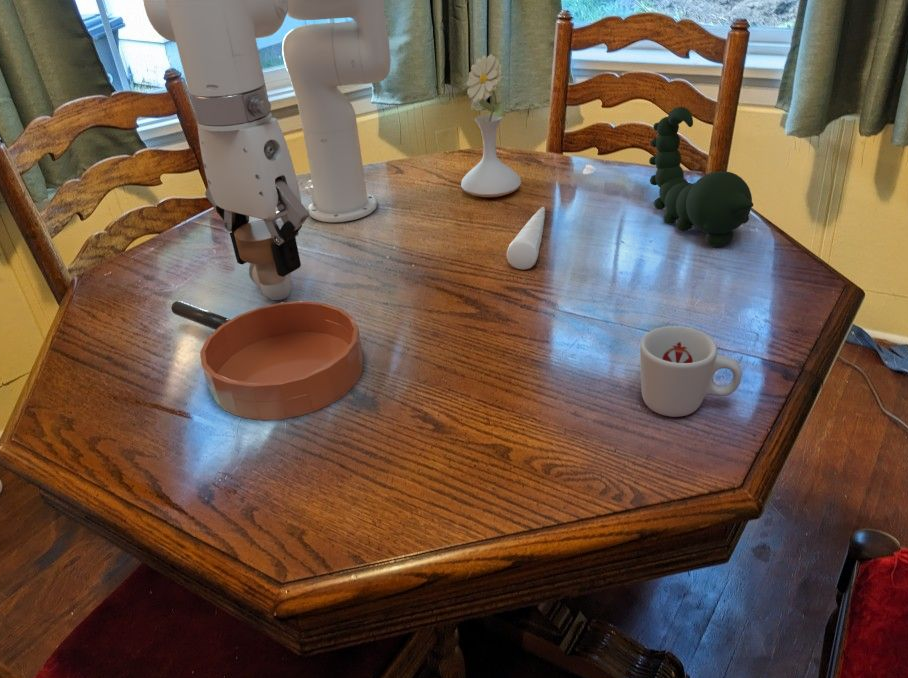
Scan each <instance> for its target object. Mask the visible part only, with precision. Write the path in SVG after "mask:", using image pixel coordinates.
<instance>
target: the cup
mask: <svg viewBox="0 0 908 678" xmlns="http://www.w3.org/2000/svg"><path fill="white" fill-rule="evenodd" d="M639 350H640V391H641V397H642V400H643V402H644V404H645V405H646V406H647V408H649V409H650V410H651V411H653V412H654V413H657V414H658V415H662V416H665V417H674V418H677V417H678V418H679V417H684V416H688V415H690V414H693V413H694V412H696V411H697V410H698V409H699V408H700V406H701V405H702V403H703V401H704V399H705V398H706V397H707V396H716V397H717V396H718V397H726V396H729V395H732V394H733V393H735V391H736V390H737V389H738V388H739V386H740V384H741V380H742V367H741V365H740V364H739V362H738V361H737V360H736V359H734V358H732V357H729V356H725V355H722V354H719V353H718V346H717V343H716V341H715V340H714V339H713V338H712V337H711V336H710V335H708V334H707V333H706V332H703V331H702V330H699V329H697V328H694V327H689V326H684V325H683V326H682V325H665V326H659V327H656V328H653V329H651V330H649V331H648V332H646V333H645V334H644V335H643V337H642V338H641V340H640V344H639ZM722 369H727V370H729V371H731V373H732V379H731V381H730V382H729V383H728V384H726V385H719V384H717V383H715V381H714V376H715V374H716V373H717V371H719V370H722Z"/></svg>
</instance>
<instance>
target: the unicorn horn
mask: <svg viewBox="0 0 908 678" xmlns="http://www.w3.org/2000/svg"><path fill="white" fill-rule="evenodd" d="M545 217H546V207H545V206H541V207H540V208H539V209H538V210H536V212H535V213H534V214H533V215H532V216H531V218H530V219H528V221H527V222H526V223H525V225H524V226H523V227H522V228H521V230H520V231H519V232H518V233H517V235H516V236H515V237H514V239H512V241H511V242H510V243H509V245H508V247H507V250H506V260H507V261H508V264H509V265H510V266H512V267H513V268H514V269H517V270H523V271H526V270H529V269H532V268H533V267H534V266H535V265H536V263H537V260H538V258H539V255H540V254H539V253H540V247H541V244H542V240H543V239H542V238H543V233H544V226H545V219H546V218H545Z"/></svg>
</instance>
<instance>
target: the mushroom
mask: <svg viewBox="0 0 908 678" xmlns="http://www.w3.org/2000/svg"><path fill="white" fill-rule="evenodd" d="M275 221H276V223H277V225H278V227H279V229H281V227H282V226H283V221H282V219H281V220H280V219H277V220H275ZM234 236H235V240H236V244H237V248H238V252H239V256H240V258H241V260H243V261H245V262H247V263H248V264H250V263H253V264H255V268H256V272H257V276H258V280H259V283H260V284H262V285H275V284H279V283H281V282H283V281H284V280H285V279H286V276H284V277H281V276H279V275H278V274H277V270H276V266H275V262H274V257H273V253H272V249H271V244H273V243H275V242H274V240H273V238H272V236H271V234H270V232H269V230H268V228H267V226H266V224H265V222H264V220H263V219H259V220H254V221H249V223H247V224H244V225H242V226H241V227H239V228H238V229H237V230H236V231H235V233H234ZM247 263H246V264H247Z"/></svg>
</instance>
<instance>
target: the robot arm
mask: <svg viewBox="0 0 908 678" xmlns="http://www.w3.org/2000/svg"><path fill="white" fill-rule="evenodd" d="M142 1H143V6H144V11H145V13H146V14H145V15H146V17H147V18H148V22H149V23H150V25H151V26H152V28H153V29H154V30H155V32H156V33H157V34H158V35H159V36H160V37H162V38H164V39H165V40H167V41H170V42H173V43H176V47H177V48H176V49H177V52H178V55H179V59H180V62H181V67H182V71H183V74H184V78H185V82H186V85H187V89H188V93H189V97H190V100H191V105H192V108H193V112H194V116H195V119H196V123H197V134H198V141H199V148H200V154H201V155H200V156H201V159H202V166H203V170H204V174H205V178H206V182H207V188H206V189H205V193H204V194H205V197H206V199H207V200H208V201H209V202H210V203H211V204H212V206H213V207H214V208H215V211H216V213H217V214H218V215H219V217H220V218H221V219H222V220H223V227H224V229H225V230H226V231H227V233H228V232H229V235H230V240H231V244H232V247H233V251H234V255H235V260H236V262H237V264H239V265H245V264H247V262H245V261H243V260H241V258H240V256H239V252H238V248H237V244H236V240H235V236H234V233H235V231H236V230H237V229H238V228H239V227H241V226H242V225H244V224H247V223H250V217H251V218H255V219H259V220H264V222H265V224H266V226H267V228H268V230H269V232H270V234H271V236H272V238H273V240H274V242H275V243H273V244H271V249H272V253H273V257H274V262H275V266H276V270H277V274H278V275H279V276H281V277H284V276H286V275H288V274H289V273H290V274H291V273H292V272H295V271H296V270H299V269H300V268H301V266H302V263H301V257H300V253H299V249H298V243H297V239H296V237H297V236H299V232H300V230H301V229H302V227H303V224H304V223H305V222H306V221H307V219H308V218H309V216H310V217H311V218H313V219H314V220H315V221H319V222H323V223H345V222H351V221H355V220H358V219H362V218H364V217H367V216H369V215H370V214H371V213H373V212H374V211H375V210H376V209H377V205H378V204H377V199H376V197H375V196H374V195H373V194H370V193H368V191H367V186H366V179H365V178H366V177H365V172H364V165H363V157H362V150H361V142H360V137H359V131H358V130H359V129H358V123H357V122H358V121H357V115H356V111H355V108H354V106H353V104H352V103H351V101H350V100H349V98H348V97H347V96H346V95H345V94H344V93H343V92H342V90H340V89H339V88H338V87H343V86H356V85H369V84H376V83H380V82H382V81H385V80H386V79H387V78H388V77H389V74H390V71H391V64H392V63H391V61H392V60H391V49H390V39H389V34H388V26H387V20H386V13H385V12H386V11H385V5H384V0H142ZM287 16H288V17H289V18H290V19H294V20H298V21H319V20H320V21H321V20H333V19H345V18H346V19H347V18H350V19H352V20H353V21H341V22H325V23H323V22H322V23H312V24H304V25H300V26H296V27H294V28H292V29H290V30H289V31H288V32H287V33H286V34H285V36H284V38H283V40H282V45H281V51H282V52H281V53H282V58H283V62H284V65H285V68H286V71H287V74H288V78H289V80H290V83H291V86H292V89H293V93H294V96H295V100H296V104H297V109H298V113H299V114H298V115H299V119H300V123H301V124H300V125H301V129H302V135H303V140H304V145H305V150H306V151H305V152H306V156H307V157H306V158H307V162H308V166H309V167H308V168H309V173H310V178H311V179H309V180H307V181H306V183H305V186H303V188H302V191H300V188H299V183H298V179H297V178H298V177H297V175H296V170H295V168H294V164H293V160H292V155H291V153H290V150H289V147H288V144H287V141H286V138H285V135H284V132H283V131H282V128H281V125H280V124H279V121H278V119H277V118H276V117H273V116H272V110H271V109H272V104H271V102H270V100H269V95H268V89H267V86H266V81H265V77H264V71H263V65H262V62H261V56H260V51H259V46H258V43H257V40H258V39H264V38H269V37H271V36H274V34H276V33H277V32H278V31H279V30H280V29H281V28H282V26H283V24H284V22H285V19H286V18H287ZM301 192H302V194H304V195H307V196H310V197H311V201H312V202H311V203H310V204H309V205H308V209H307V208H306V206H304V205H303V203H302V197H301ZM276 208H277V211H276ZM280 219H281V221H283V226H282V227H281V229H279V227H278V225H277V223H276V221H275V220H280Z"/></svg>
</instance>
